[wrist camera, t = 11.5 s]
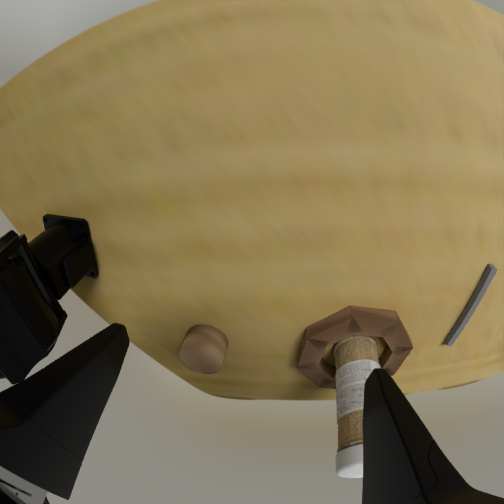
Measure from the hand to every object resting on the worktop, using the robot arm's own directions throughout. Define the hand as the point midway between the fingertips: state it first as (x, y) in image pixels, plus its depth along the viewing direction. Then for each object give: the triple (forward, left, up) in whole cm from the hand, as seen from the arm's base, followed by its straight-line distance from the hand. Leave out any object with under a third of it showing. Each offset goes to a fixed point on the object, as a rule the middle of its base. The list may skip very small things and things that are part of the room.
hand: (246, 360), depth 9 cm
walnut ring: (+10, -13, -13) cm, 21 cm away
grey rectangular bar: (+21, -6, -13) cm, 25 cm away
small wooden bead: (-5, -15, -13) cm, 21 cm away
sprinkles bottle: (+10, -13, -13) cm, 21 cm away
